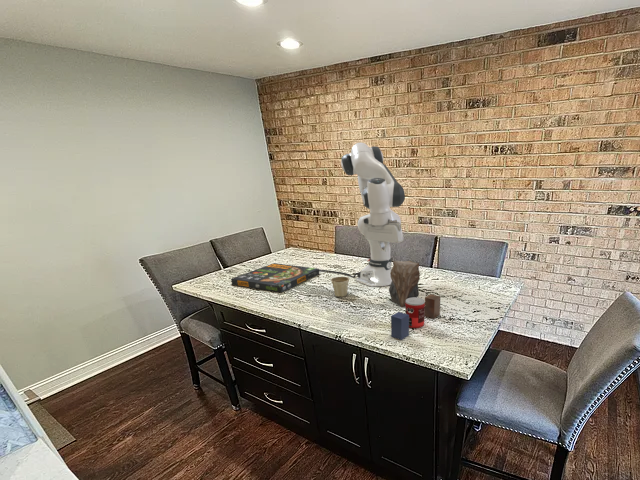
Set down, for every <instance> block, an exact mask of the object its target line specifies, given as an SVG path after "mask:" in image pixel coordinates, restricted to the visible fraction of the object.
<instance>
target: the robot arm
mask: <svg viewBox="0 0 640 480" xmlns="http://www.w3.org/2000/svg"><path fill="white" fill-rule="evenodd" d="M340 165H341V169H342V171H343V172H344V173H345V175H347V176H354V175H356V176H357V184H358V189H359V193H360V197H361V199H362V204H363V206H364V208H366V209H368V210H369V213H368V214H365V215H362V216H360V217H359V218H358V221H357V229H358V232H359V233H360V234H361V235H363V236H364V239H365V240H366V241H367V242H368V244H369V248H370V249H369V250H370V258H367V262H368V264H367V265H366V266H365V267H363V268H362V269H361V270H360V271H359V272H356V273H354V274H353V275H351V274H349V273H347V272H341V271H336V270H328V269H319V268H318V269H319V272H328V273H335V274H341V275H346V276H347V277H350V278H356V280H355V281H356V282H358V283H361V284H364V285H366V286H368V287H372V288H373V287H385V286H390V285H391V282H392V279H391V277H390V276H391V274H390V273H391V269H392V264H393V262H392V256H391V255H392V253H391V243H393V244H399V243H402V242H403V241H404V234H403V229H402V219H401V216H400V215H399V213H396V212H395V211H394V210H393V209H391V208H400V207H401V206H402V205H403V203H404V202H405V200H406V193H405V189H404V187H403V185H402V184H400V183H399V182H398V181H397V179H396V177H395V176H394V175H393V173H392V172H391V171H390V169H389V168H388V166H387V165H386V163H385V164H384V154H383V151H382V150H381V148H380V147H379V146H370V147H369V145H368V144H367V143H365V142H356V143H355V144H354V145H353V146H352V147H351V150H350V152H349V153H345V154H344V155H342V157H341V160H340ZM356 276H357V277H356Z"/></svg>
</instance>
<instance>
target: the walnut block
mask: <svg viewBox="0 0 640 480" xmlns="http://www.w3.org/2000/svg"><path fill="white" fill-rule="evenodd" d="M424 300H425V313H424V317H426V318H429V319H433V320H435V319H436V318H438V317H439V316H441V296H440V295H436V294H432V293H430V294H429V295H426V296H425V297H424Z"/></svg>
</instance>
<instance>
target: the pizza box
mask: <svg viewBox="0 0 640 480" xmlns="http://www.w3.org/2000/svg"><path fill="white" fill-rule="evenodd" d="M318 275H320V271H319V268H317V267H308V266H301V265H300V266H299V265H292V264H285V263H284V264H283V263H276V262H273V263H270V264H267V265H265V266H263V267H259V268H257V269H254V270H251V271H248V272H246V273H243V274H241V275H237V276H235V277H231V278H230V281H231V285H232V286H237V287H244V288H251V289H256V290H262V291H268V292H269V291H270V292H274V293H283V292H286V291H288V290H289V289H292V288H294V287H296V286H298V285H300V284H302V283H304V282H307V281H308V280H311V279H312V278H314V277H316V276H318Z"/></svg>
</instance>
